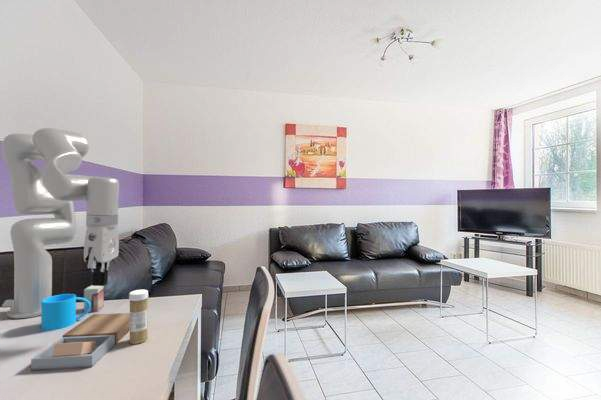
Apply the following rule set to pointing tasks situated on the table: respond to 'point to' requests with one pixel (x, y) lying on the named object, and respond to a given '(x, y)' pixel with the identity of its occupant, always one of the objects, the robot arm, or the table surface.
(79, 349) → the tile
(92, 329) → the board
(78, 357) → the tray
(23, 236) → the robot arm
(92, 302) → the small box
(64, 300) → the mug
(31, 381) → the table surface
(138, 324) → the sprinkles bottle
